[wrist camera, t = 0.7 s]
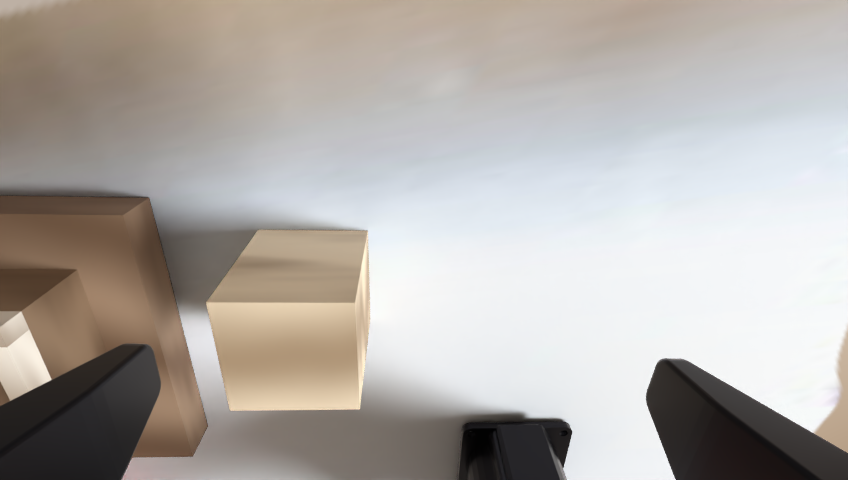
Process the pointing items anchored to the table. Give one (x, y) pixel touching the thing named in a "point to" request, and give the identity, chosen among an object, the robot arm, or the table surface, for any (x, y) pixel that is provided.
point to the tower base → (93, 304)
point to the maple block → (294, 321)
